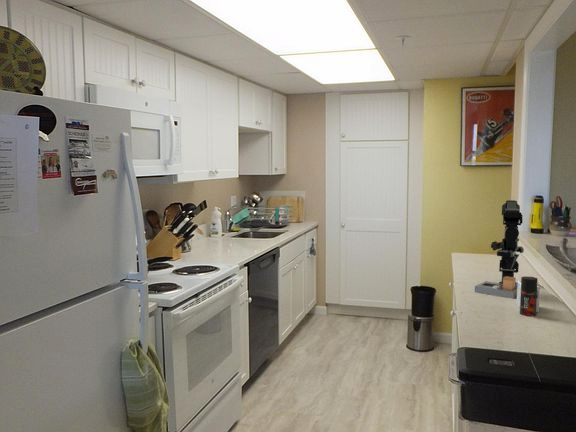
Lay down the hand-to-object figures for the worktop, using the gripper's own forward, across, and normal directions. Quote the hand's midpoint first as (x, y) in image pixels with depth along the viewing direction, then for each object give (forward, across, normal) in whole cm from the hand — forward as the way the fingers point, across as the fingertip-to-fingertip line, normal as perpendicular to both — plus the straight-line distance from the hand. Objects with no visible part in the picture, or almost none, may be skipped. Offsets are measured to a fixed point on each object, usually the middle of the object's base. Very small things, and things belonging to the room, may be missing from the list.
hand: (509, 269), depth 241 cm
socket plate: (+12, 0, -4) cm, 13 cm away
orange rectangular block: (+12, 0, 0) cm, 12 cm away
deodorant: (+12, +29, +18) cm, 36 cm away
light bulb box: (+12, +20, +14) cm, 28 cm away
